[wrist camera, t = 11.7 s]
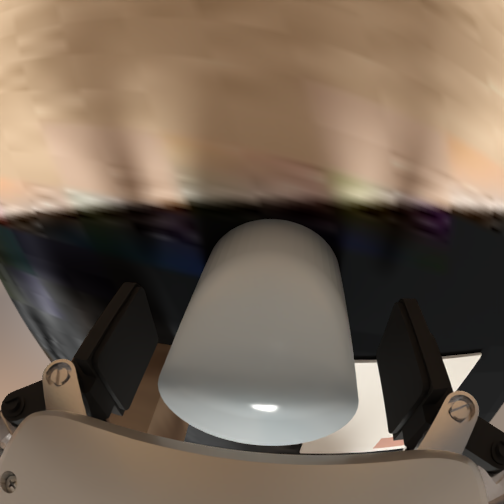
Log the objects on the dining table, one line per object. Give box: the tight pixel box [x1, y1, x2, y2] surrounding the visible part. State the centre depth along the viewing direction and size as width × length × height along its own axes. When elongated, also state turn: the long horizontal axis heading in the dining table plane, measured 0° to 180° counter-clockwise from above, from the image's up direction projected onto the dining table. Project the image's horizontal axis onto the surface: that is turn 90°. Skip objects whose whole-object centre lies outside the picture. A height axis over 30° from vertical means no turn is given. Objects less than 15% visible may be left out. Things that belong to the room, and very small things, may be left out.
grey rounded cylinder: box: [158, 219, 359, 446], centre depth 10 cm, size 6×6×6 cm
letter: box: [300, 352, 482, 453], centre depth 18 cm, size 14×10×1 cm
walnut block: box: [71, 330, 189, 442], centre depth 15 cm, size 6×6×6 cm
